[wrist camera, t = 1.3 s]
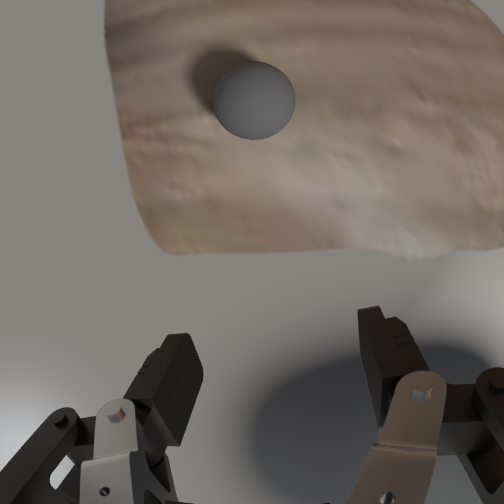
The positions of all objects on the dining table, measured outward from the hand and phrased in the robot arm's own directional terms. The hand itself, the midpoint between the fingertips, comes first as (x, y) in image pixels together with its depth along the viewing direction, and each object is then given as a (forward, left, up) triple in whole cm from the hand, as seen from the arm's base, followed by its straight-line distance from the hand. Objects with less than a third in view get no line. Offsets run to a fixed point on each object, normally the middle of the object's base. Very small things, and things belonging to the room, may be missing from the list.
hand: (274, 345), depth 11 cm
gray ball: (-10, 0, -15) cm, 18 cm away
